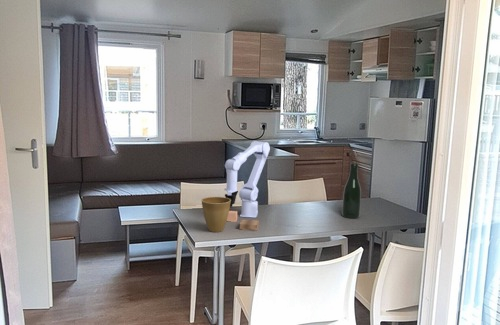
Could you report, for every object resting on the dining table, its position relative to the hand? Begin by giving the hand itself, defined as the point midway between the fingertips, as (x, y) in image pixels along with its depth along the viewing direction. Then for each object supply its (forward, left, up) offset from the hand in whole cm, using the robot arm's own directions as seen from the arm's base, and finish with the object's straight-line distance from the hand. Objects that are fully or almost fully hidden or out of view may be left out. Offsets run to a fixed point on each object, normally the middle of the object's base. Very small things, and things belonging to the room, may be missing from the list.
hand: (231, 205), depth 252 cm
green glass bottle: (-68, -25, -9) cm, 73 cm away
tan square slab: (-12, +12, -8) cm, 18 cm away
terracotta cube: (-1, +1, -9) cm, 9 cm away
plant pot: (+5, +20, -9) cm, 22 cm away
